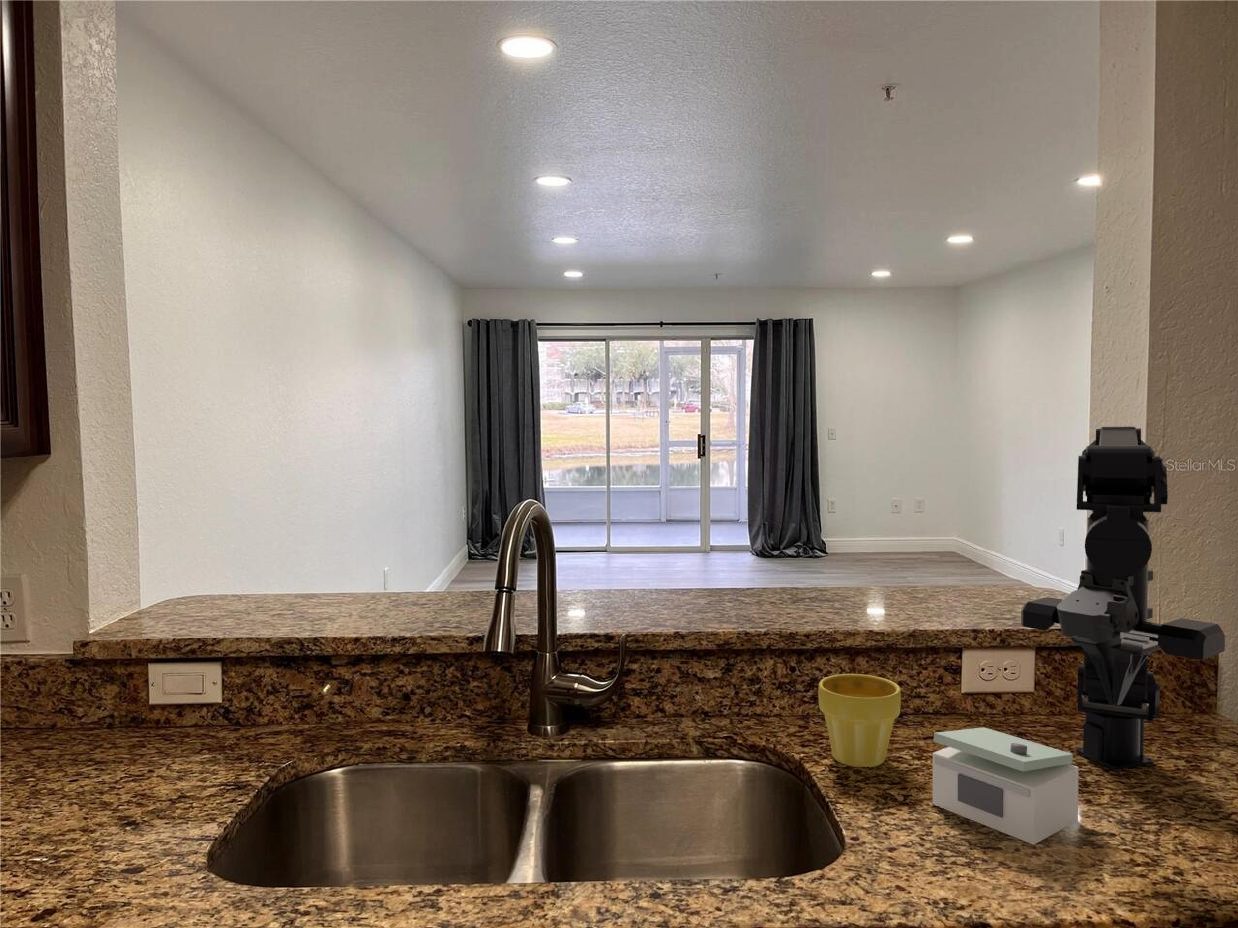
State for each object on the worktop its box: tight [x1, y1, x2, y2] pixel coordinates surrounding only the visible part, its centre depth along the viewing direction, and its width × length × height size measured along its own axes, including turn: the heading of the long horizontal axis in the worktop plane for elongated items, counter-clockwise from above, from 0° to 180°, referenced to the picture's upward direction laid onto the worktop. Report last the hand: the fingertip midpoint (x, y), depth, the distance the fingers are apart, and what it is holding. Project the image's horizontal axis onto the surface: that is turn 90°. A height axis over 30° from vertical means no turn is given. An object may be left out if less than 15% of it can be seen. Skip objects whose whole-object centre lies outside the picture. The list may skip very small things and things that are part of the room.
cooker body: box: [932, 746, 1079, 846], centre depth 97 cm, size 9×12×6 cm
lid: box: [933, 727, 1074, 771], centre depth 97 cm, size 10×11×2 cm
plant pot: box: [818, 673, 902, 768], centre depth 113 cm, size 10×10×10 cm
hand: (1115, 703), depth 94 cm, fingers closed
